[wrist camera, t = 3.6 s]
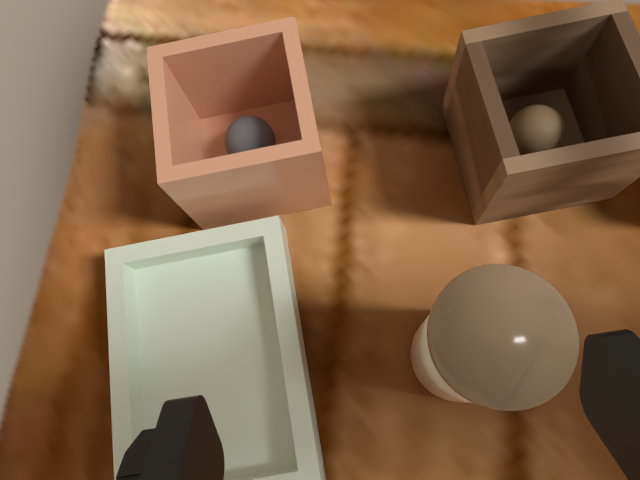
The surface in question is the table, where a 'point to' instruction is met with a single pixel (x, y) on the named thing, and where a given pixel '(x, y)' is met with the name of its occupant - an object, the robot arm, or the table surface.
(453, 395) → the cream canister
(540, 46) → the brown open square box
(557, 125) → the cork ball
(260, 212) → the pink square bin
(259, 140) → the rubber ball
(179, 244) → the sage tray
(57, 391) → the table surface
